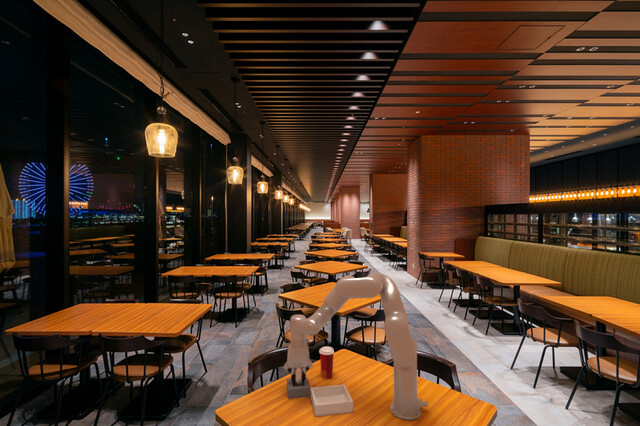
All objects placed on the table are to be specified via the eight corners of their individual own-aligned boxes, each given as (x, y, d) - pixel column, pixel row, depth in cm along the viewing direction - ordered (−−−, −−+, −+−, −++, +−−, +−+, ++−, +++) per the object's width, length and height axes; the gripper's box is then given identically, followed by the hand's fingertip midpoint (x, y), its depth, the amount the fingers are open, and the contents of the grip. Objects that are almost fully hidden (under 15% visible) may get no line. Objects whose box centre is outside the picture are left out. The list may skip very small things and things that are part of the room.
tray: (344, 394, 145) (344, 384, 145) (353, 412, 131) (353, 401, 131) (310, 397, 142) (310, 387, 142) (315, 416, 128) (315, 405, 128)
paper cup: (334, 373, 165) (334, 346, 166) (333, 380, 157) (333, 352, 158) (319, 372, 166) (319, 345, 166) (318, 379, 158) (318, 351, 159)
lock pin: (302, 389, 149) (302, 363, 150) (303, 393, 145) (303, 367, 146) (293, 389, 149) (293, 364, 149) (294, 394, 145) (294, 368, 145)
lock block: (307, 385, 153) (307, 377, 153) (310, 396, 143) (310, 387, 143) (286, 387, 151) (286, 378, 151) (288, 398, 141) (288, 389, 141)
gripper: (314, 338, 153) (314, 376, 152) (280, 340, 150) (280, 379, 149) (317, 344, 146) (317, 384, 145) (280, 346, 143) (281, 387, 142)
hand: (298, 381), depth 147 cm, fingers closed on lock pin, 4 cm apart
